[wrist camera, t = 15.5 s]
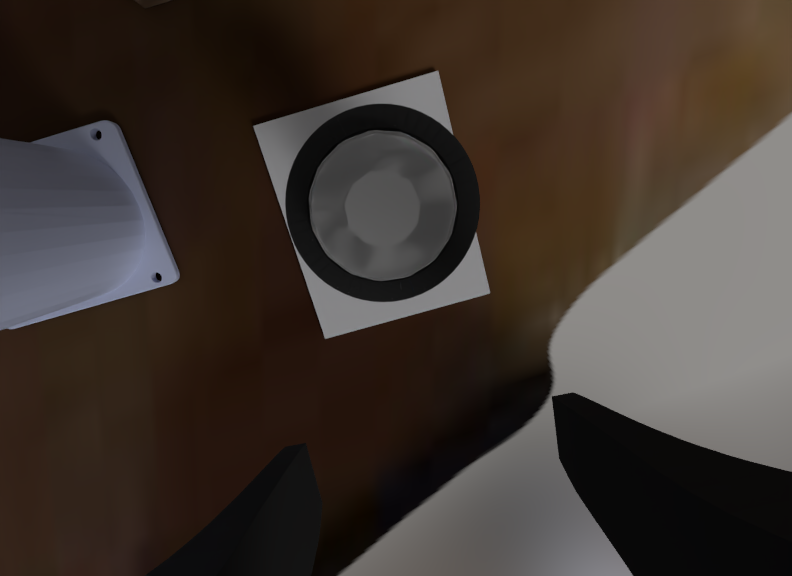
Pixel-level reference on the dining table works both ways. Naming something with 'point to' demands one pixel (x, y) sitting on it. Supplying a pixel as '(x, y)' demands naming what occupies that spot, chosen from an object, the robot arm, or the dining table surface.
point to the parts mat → (279, 153)
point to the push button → (382, 202)
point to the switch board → (150, 2)
